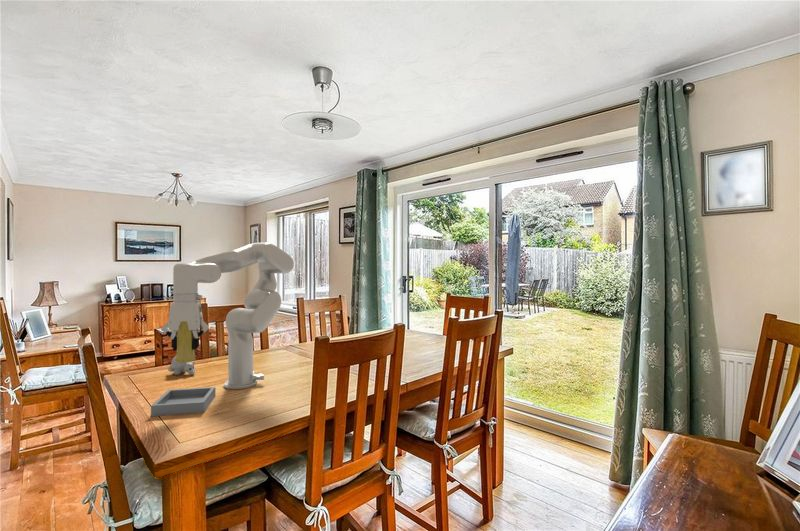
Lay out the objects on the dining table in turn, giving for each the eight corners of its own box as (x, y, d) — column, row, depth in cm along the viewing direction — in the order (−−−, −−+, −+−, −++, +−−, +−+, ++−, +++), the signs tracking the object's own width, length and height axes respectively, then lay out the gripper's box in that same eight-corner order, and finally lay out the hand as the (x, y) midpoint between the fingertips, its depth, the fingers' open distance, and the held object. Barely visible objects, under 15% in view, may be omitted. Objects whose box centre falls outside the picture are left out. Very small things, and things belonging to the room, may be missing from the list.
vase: (186, 363, 132) (186, 321, 132) (171, 362, 133) (171, 321, 133) (199, 358, 138) (199, 319, 138) (184, 357, 139) (184, 318, 139)
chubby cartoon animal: (185, 383, 168) (190, 365, 167) (164, 370, 171) (170, 353, 170) (197, 378, 175) (203, 361, 174) (177, 366, 178) (183, 349, 177)
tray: (215, 396, 145) (215, 386, 145) (203, 412, 130) (204, 402, 130) (168, 399, 142) (168, 389, 142) (150, 416, 126) (150, 405, 126)
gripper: (214, 297, 141) (214, 346, 141) (162, 297, 137) (162, 348, 137) (209, 299, 133) (209, 351, 134) (154, 299, 130) (154, 353, 130)
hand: (185, 349), depth 135 cm, fingers closed on vase, 5 cm apart
